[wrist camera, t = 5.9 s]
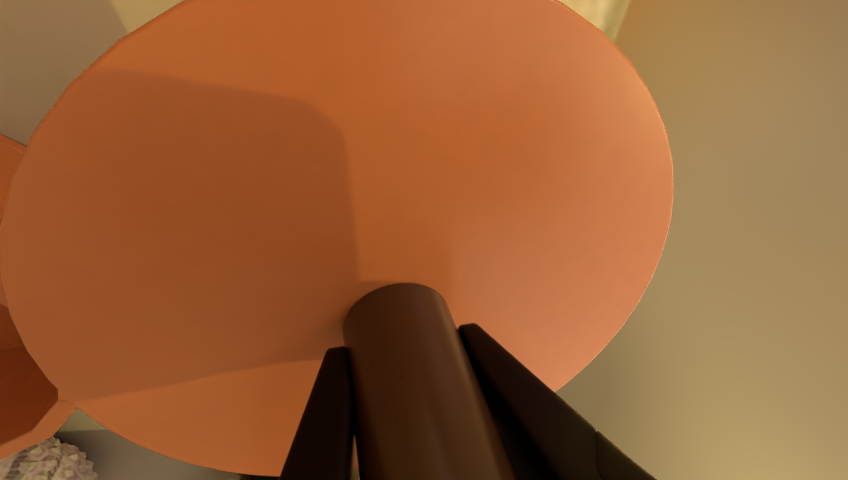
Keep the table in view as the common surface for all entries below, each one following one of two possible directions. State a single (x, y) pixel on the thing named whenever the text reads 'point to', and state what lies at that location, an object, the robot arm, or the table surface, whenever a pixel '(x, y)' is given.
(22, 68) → the table surface
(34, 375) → the pot
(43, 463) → the sea urchin shell
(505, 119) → the lid
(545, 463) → the robot arm
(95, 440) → the table surface
